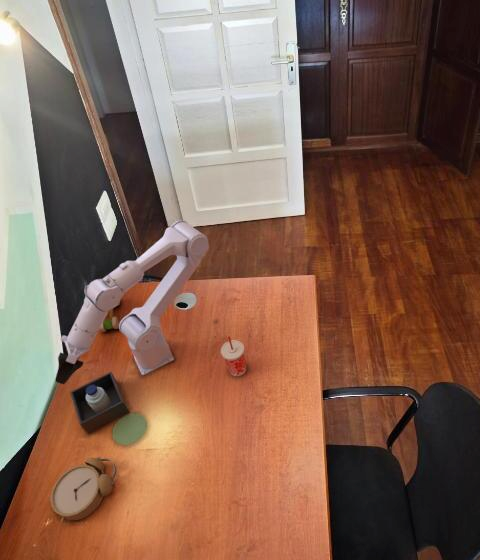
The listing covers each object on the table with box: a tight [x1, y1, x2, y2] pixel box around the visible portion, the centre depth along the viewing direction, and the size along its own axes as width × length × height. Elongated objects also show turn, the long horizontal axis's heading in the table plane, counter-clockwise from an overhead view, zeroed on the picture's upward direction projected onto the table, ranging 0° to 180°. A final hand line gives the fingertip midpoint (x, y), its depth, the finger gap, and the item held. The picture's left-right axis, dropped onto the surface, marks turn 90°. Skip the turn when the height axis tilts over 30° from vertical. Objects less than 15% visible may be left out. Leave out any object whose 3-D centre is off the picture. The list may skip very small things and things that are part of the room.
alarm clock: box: [48, 456, 118, 524], centre depth 110 cm, size 11×5×15 cm
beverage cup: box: [220, 336, 247, 377], centre depth 126 cm, size 6×6×14 cm
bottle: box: [86, 385, 112, 414], centre depth 123 cm, size 5×5×9 cm
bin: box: [69, 371, 130, 435], centre depth 124 cm, size 11×11×5 cm
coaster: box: [112, 412, 148, 446], centre depth 121 cm, size 9×9×1 cm
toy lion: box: [99, 301, 121, 333], centre depth 143 cm, size 16×5×15 cm, turn 12°
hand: (62, 374), depth 117 cm, fingers open, 7 cm apart
